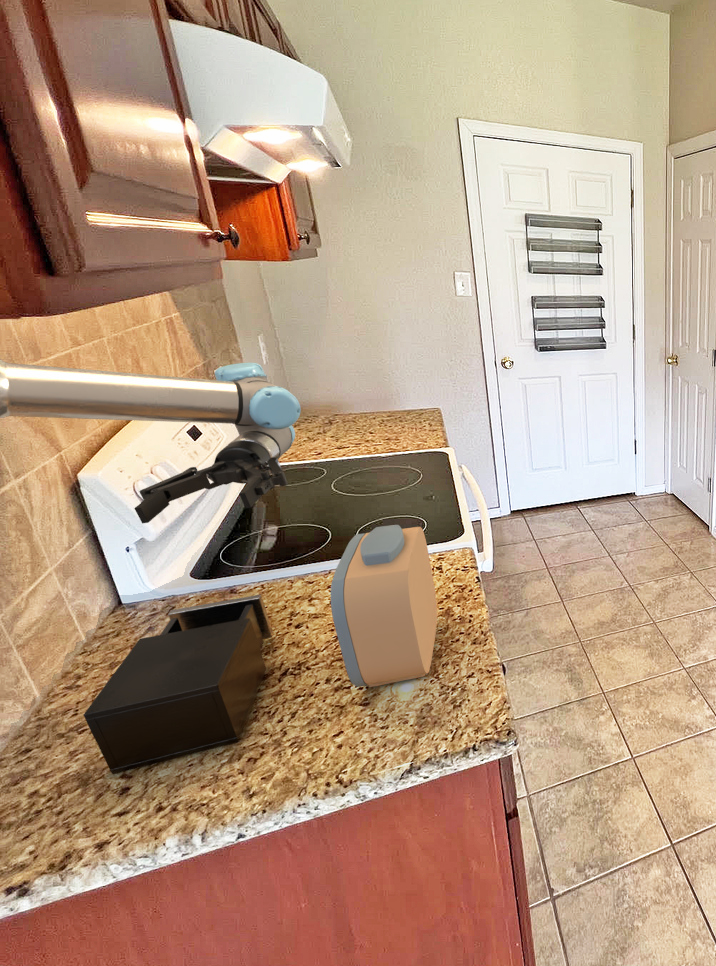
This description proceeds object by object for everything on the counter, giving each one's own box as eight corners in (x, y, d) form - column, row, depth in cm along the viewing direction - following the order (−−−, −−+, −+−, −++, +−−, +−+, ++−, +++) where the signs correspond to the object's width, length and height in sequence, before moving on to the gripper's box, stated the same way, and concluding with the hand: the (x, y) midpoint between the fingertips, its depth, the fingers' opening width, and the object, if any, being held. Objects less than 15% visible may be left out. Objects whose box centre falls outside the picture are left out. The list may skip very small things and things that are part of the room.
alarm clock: (380, 626, 99) (354, 515, 92) (440, 616, 103) (420, 508, 95) (355, 710, 82) (320, 580, 74) (428, 694, 85) (402, 568, 77)
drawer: (195, 635, 95) (181, 595, 92) (279, 619, 99) (267, 581, 96) (148, 713, 79) (129, 668, 76) (250, 690, 83) (235, 646, 81)
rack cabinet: (161, 692, 84) (139, 638, 80) (266, 669, 89) (250, 617, 85) (112, 775, 71) (82, 714, 67) (238, 742, 76) (217, 684, 72)
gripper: (328, 466, 113) (293, 514, 95) (176, 486, 106) (107, 543, 88) (316, 431, 110) (277, 474, 92) (158, 449, 103) (82, 500, 85)
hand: (194, 508), depth 90 cm, fingers open, 13 cm apart
